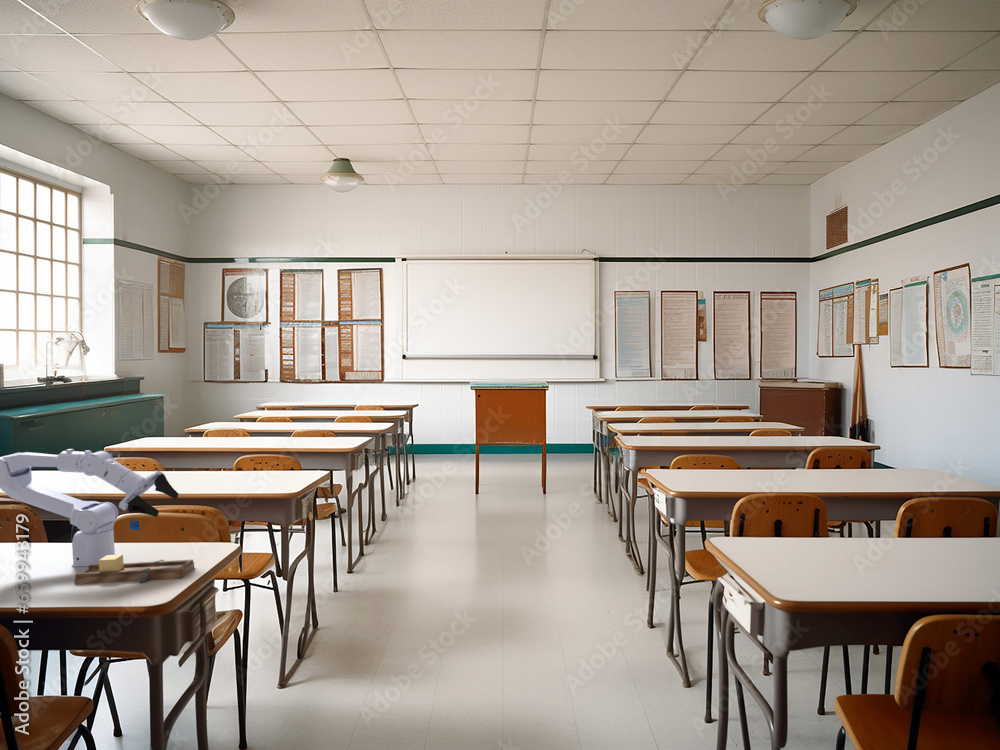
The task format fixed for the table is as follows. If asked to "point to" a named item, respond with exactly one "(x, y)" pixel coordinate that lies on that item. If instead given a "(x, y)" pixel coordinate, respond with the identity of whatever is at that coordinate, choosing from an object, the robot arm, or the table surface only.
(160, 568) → the balance beam
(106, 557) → the block
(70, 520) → the robot arm
